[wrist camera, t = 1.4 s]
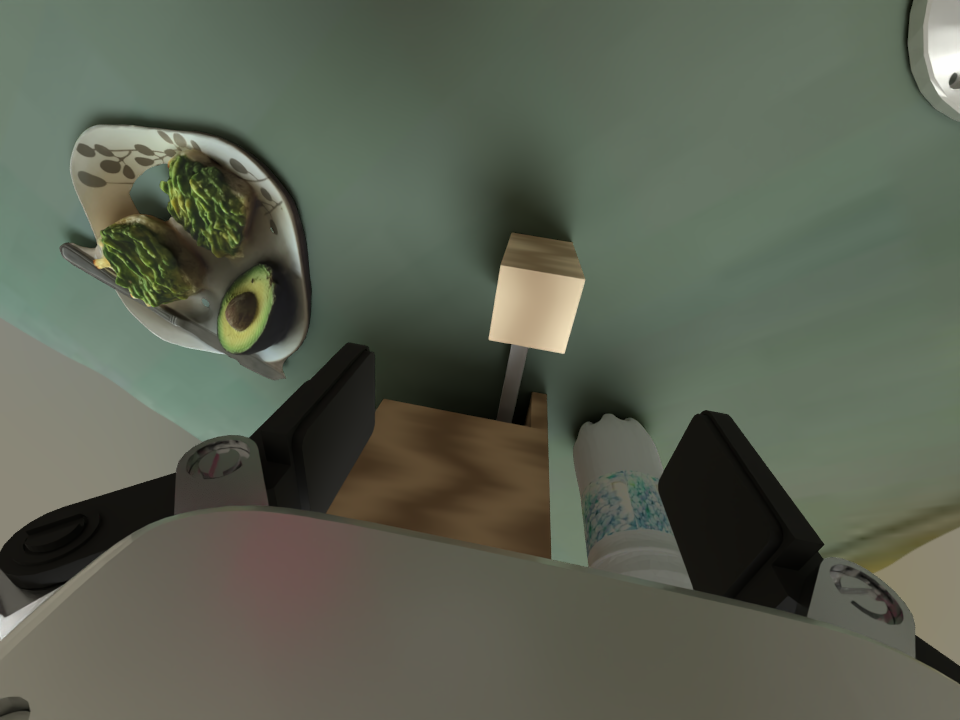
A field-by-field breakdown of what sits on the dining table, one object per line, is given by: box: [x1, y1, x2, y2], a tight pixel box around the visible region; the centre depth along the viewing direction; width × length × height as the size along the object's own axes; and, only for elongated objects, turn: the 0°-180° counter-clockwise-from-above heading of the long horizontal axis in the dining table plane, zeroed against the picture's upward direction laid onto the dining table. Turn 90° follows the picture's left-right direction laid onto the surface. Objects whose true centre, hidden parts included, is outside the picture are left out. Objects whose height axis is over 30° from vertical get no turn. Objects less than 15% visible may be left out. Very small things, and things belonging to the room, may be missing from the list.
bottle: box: [573, 414, 693, 590], centre depth 23 cm, size 7×7×20 cm
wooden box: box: [326, 392, 551, 559], centre depth 27 cm, size 13×14×16 cm
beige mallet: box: [489, 233, 585, 423], centre depth 27 cm, size 4×23×8 cm, turn 172°
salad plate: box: [60, 124, 311, 380], centre depth 27 cm, size 19×18×5 cm
